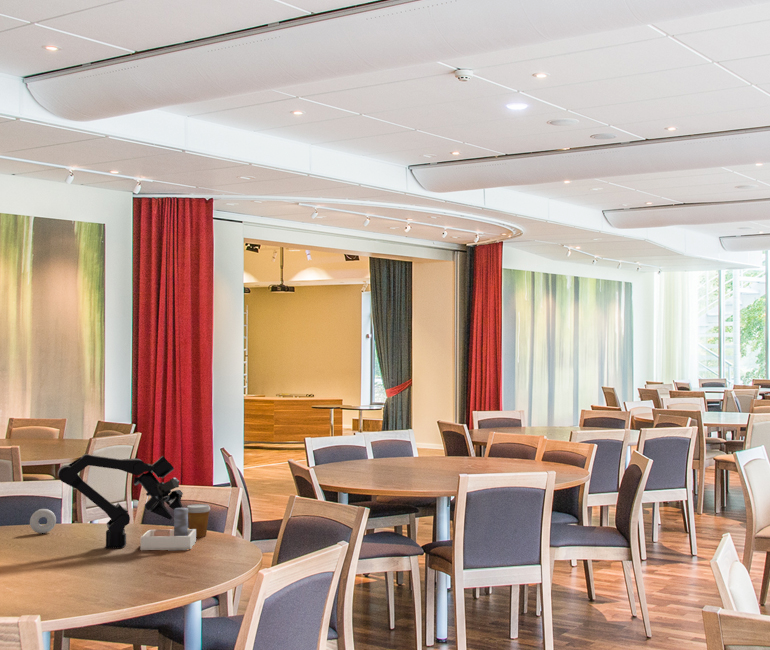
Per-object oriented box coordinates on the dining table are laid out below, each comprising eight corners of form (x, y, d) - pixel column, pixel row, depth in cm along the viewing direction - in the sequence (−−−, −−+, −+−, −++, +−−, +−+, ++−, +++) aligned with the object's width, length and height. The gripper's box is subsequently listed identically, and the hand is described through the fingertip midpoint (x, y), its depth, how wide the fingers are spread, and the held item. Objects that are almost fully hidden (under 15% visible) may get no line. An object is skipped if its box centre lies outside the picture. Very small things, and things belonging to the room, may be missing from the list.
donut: (29, 535, 339) (29, 510, 339) (29, 533, 342) (29, 508, 343) (56, 533, 343) (56, 508, 343) (55, 531, 346) (56, 507, 346)
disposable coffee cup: (213, 533, 340) (213, 503, 341) (206, 538, 331) (206, 507, 331) (190, 533, 341) (190, 503, 342) (182, 538, 332) (182, 507, 332)
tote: (140, 551, 309) (140, 537, 309) (148, 543, 323) (148, 529, 323) (190, 550, 310) (190, 536, 310) (196, 542, 324) (196, 529, 324)
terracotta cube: (154, 545, 314) (154, 531, 314) (156, 542, 319) (156, 529, 319) (167, 545, 314) (167, 531, 314) (170, 542, 319) (170, 529, 319)
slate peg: (174, 545, 314) (174, 510, 314) (173, 542, 318) (174, 507, 319) (187, 544, 315) (188, 509, 316) (187, 541, 320) (187, 507, 320)
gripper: (152, 474, 311) (178, 506, 307) (178, 468, 329) (203, 498, 325) (133, 495, 313) (159, 526, 309) (160, 488, 331) (185, 518, 327)
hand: (177, 516), depth 317 cm, fingers open, 9 cm apart
